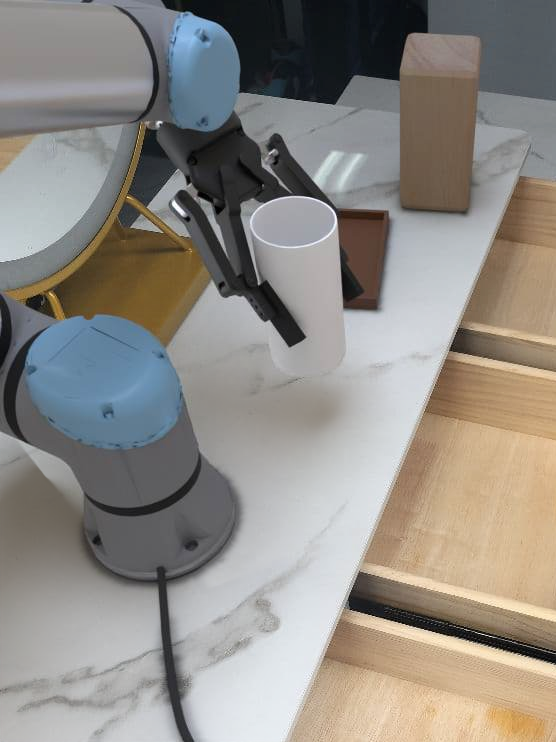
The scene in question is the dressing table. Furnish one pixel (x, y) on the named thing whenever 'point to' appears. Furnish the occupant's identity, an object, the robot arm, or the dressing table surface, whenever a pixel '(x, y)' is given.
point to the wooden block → (438, 120)
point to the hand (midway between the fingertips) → (327, 319)
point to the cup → (302, 280)
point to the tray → (364, 251)
